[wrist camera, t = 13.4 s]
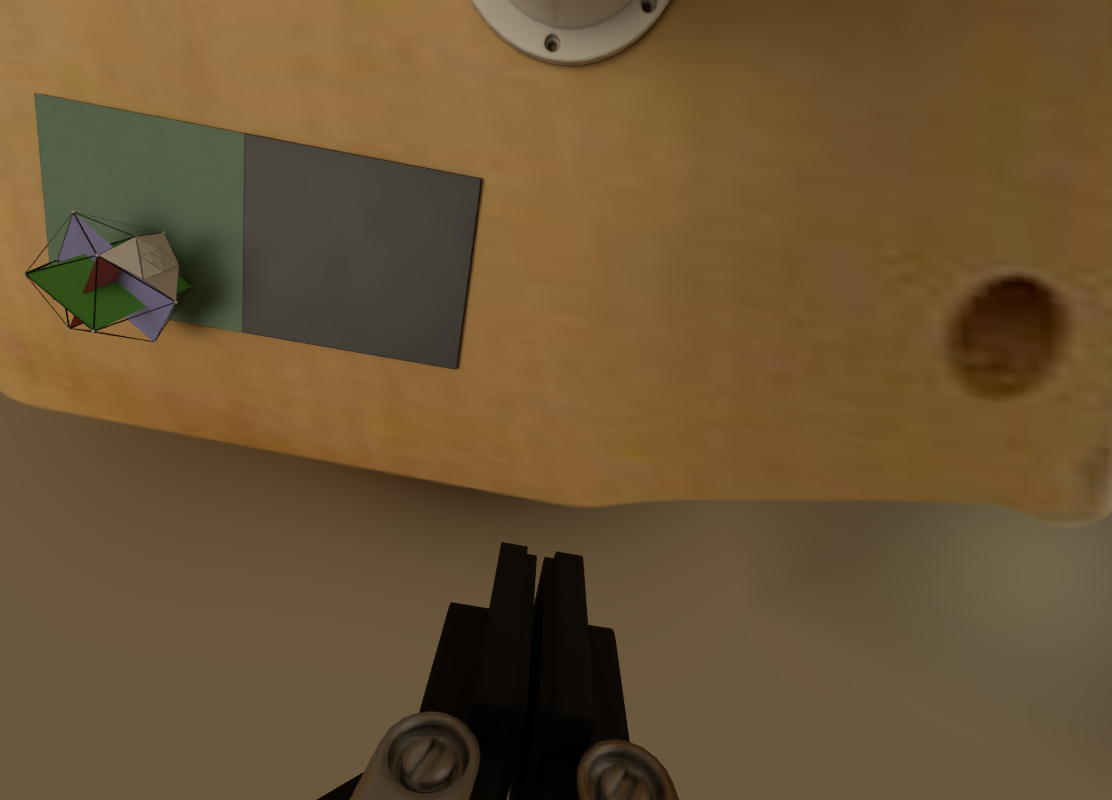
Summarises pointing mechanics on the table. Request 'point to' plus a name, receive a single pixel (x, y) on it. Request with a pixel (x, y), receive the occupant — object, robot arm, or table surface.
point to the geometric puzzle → (113, 279)
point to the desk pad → (272, 228)
